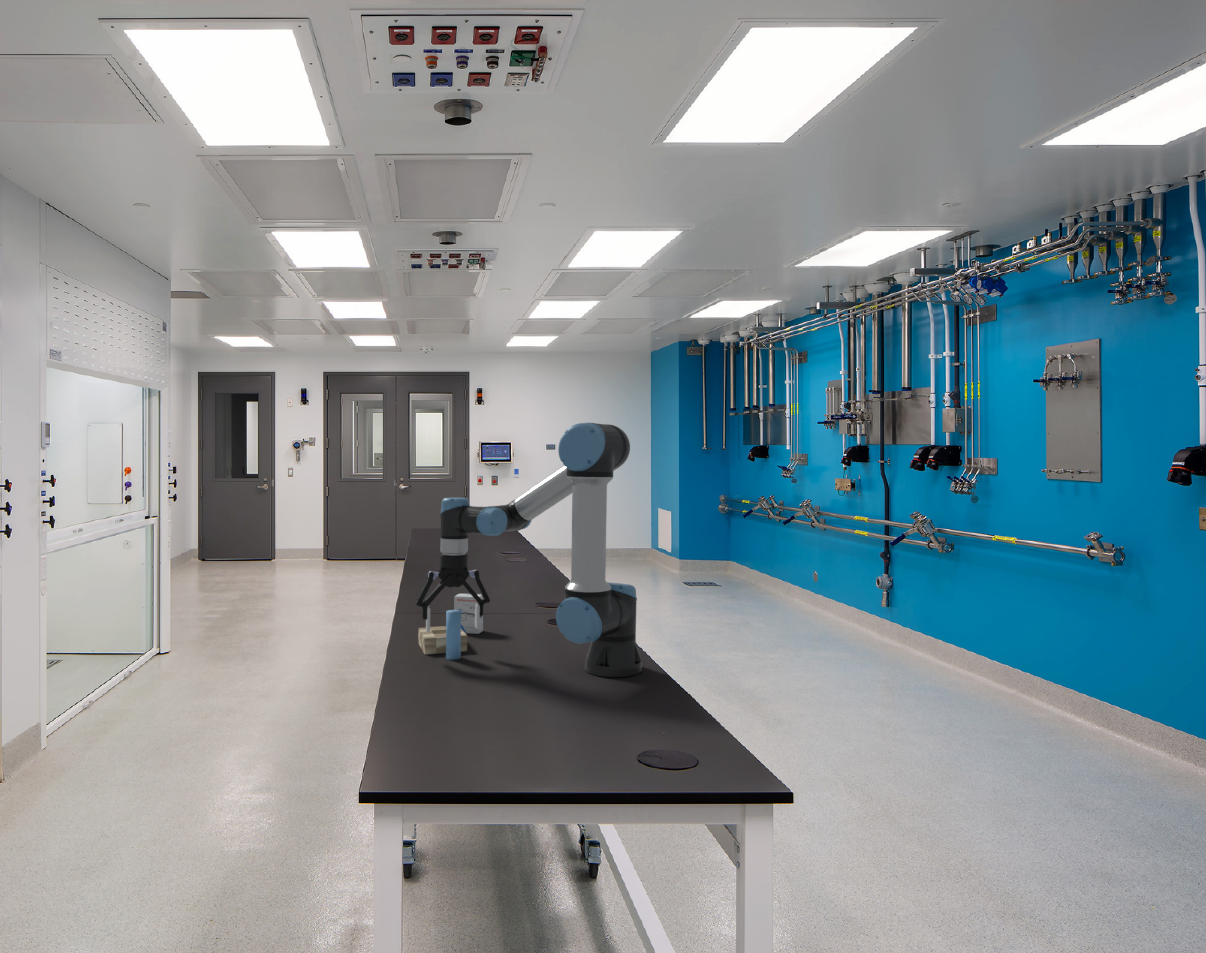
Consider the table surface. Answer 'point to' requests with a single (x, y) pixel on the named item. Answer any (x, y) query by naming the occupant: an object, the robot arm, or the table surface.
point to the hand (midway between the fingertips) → (452, 629)
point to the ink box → (468, 612)
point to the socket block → (437, 640)
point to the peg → (453, 634)
